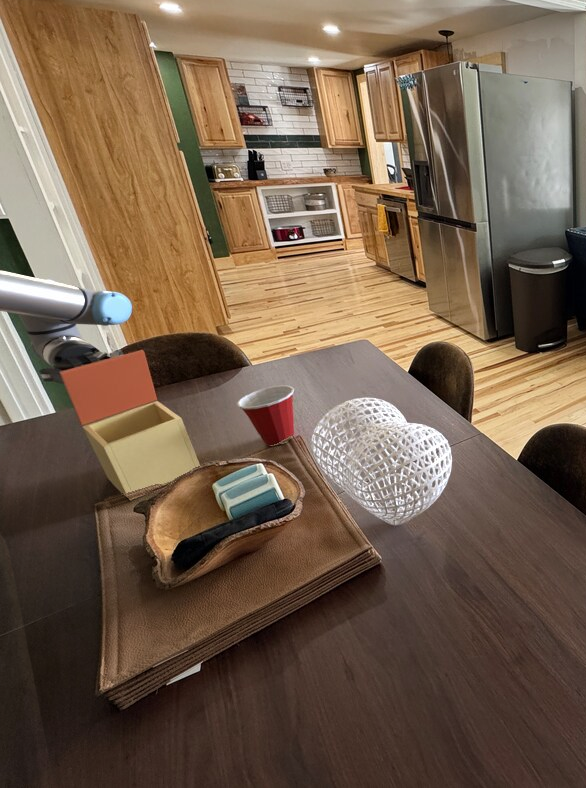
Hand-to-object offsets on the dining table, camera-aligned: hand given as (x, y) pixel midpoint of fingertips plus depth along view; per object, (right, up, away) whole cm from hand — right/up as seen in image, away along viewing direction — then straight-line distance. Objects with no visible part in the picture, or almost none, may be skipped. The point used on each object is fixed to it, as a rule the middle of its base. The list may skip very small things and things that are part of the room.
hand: (110, 383), depth 93 cm
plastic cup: (+22, -15, +17) cm, 31 cm away
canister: (+4, -19, +5) cm, 21 cm away
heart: (+59, -25, -6) cm, 65 cm away
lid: (+1, -1, -1) cm, 2 cm away
